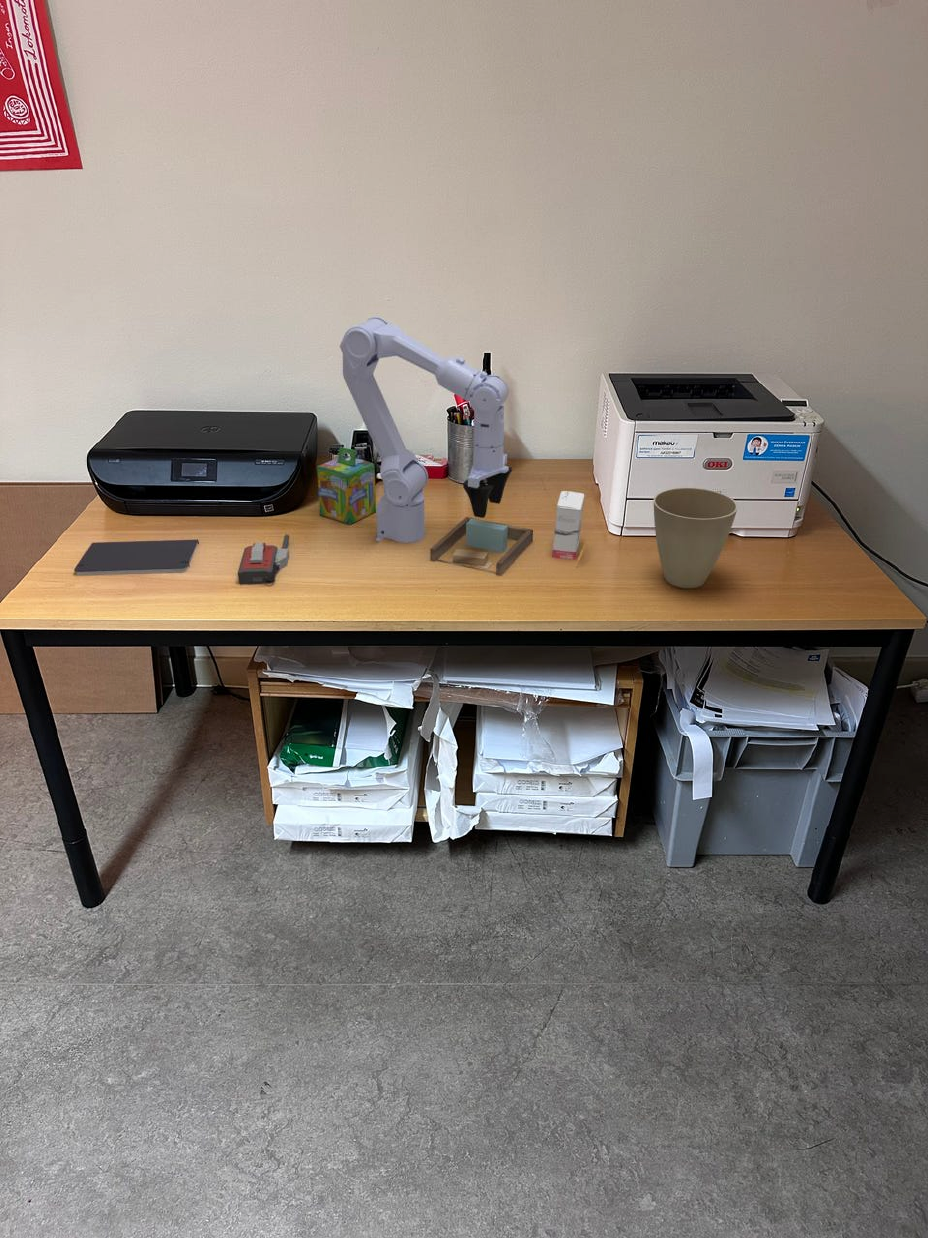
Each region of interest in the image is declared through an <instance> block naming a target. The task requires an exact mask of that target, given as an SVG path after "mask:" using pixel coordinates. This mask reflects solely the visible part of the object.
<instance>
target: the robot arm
mask: <svg viewBox="0 0 928 1238" xmlns="http://www.w3.org/2000/svg"><path fill="white" fill-rule="evenodd" d="M339 349H340V350H341V352H342V376H343V379H344V382H345V384H346V387H348V390H349V393H350V395H351V397H352V399H353V401H354V403H355V405H356V407H357V410H358V413H359V414H360V416H361V419H362V421H363V423H364V425H365V427H366V429H367V432H368V434H369V436H370V439H371V441H372V443H373V444H374V447H375V450H376V451H377V454H378V456H379V458H380V460H381V464H380V472H379V473H380V474H379V475H380V477H381V479H382V482H383V483H382V484H383V485H382V486H383V487H382V488H383V494H384V495H383V496H381V497H380V499H379V500H378V503H377V505H376V524H377V525H376V526H377V527H376V529H377V530H376V531H377V537H376V539H375V541H376V542H379V543H380V542H381V541H382V540H383V539H389V540H392V541H395V542H397V543H402V544H406V543H407V544H411V543H416V542H420V541H422V540H423V539H424V538H425V537H426V532H425V531H426V528H425V527H426V526H425V525H426V521H425V516H426V515H425V494H424V488H425V487H426V486H427V484H428V481H429V473H428V470H427V469H426V467H425V466H424V465H423V464H421V463H420V461H419V460H418V458H417V457H416V455H415V452H413V451H410V450H409V449H407V448H406V446H405V443H404V440H403V438H402V437H401V436H402V435H401V434H400V431H399V429H398V427H397V425H396V423H395V420H394V418H393V416H392V414H391V412H390V410H389V407H388V405H387V402H386V400H385V398H384V396H383V393H382V392H381V389H380V386H379V385H378V382H377V380H376V378H375V375H374V372H375V371H376V368H377V365H378V363H379V361H380V359H384V358H391V357H399V358H400V359H402V360H405V361H406V362H409V363H410V364H412V365H415V366H416V367H418V368H420V369H423V370H424V371H426V372H428V373H431V374H432V375H434V377H435V379H436V382H437V385H438V386H439V387H442V388H444V389H446V390H447V391H449V392H450V393H452V394H454V395H456V396H457V397H459V398H461V399H462V400H465V401H466V402H469V405H470V407H471V409H472V410H473V411H474V412H473V413H474V414H473V418H474V419H473V454H472V455H473V457H472V458H473V459H472V461H473V463H472V465H471V470H470V473H469V476H467V479H466V480H465V481H464V482H462V488H463V490H464V491H465V492H466V495H467V496H468V499H469V503H470V505H471V509H472V513H473V516H474V517H475V518H479V519H481V518H482V519H484V518H485V517H486V515H487V511H488V504H489V503H493V504H501V501H502V498H503V495H504V490H505V487H506V484H507V481H508V479H509V477H510V475H511V473H512V471H513V468H512V467H511V466H507V463H508V453H504V445H505V444H504V441H505V440H504V439H505V406H504V404H505V402H507V399H508V396H509V387H508V385H507V383H506V382H505V380H503V378H501V376H499V375H497V374H488V373H487V372H486V371H485V370H482V371H479V370H478V369H476V368H474V367H472V366H471V365H470V364H467V363H466V359H465V358H464V357H462V356H458V357H455V356H449V357H446V358H444V357H442V356H441V355H440V354H439V355H438V354H437V353H436V352H434V351H433V350H431V349H430V348H429V347H427V346H425V345H423V343H421V342H419V341H417V340H416V339H415V338H413V337H412V336H410V335H408V334H407V333H405V332H404V331H403V330H401V329H400V328H399V327H398V326H397V325H396V324H394V323H392V322H388V321H387V320H385V319H384V318H382V317H379V316H373V317H370V318H368V319H366V321H363V322H361V323H360V324H358V325H355V326H351V327H350V328H348V329H347V331H346V332H345V333H344V335H343V338H342V340H341V342H340V344H339ZM485 480H486V482H485ZM488 501H489V503H488Z"/></svg>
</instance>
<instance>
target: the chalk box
mask: <svg viewBox="0 0 928 1238" xmlns="http://www.w3.org/2000/svg"><path fill="white" fill-rule="evenodd" d="M345 454H347V455H345ZM375 466H376V465H375V463H373V462H370V461H368V460H365V459H361V458H357V450H356V449H351V448H348V447H345V446H344V447H343V446H339V449H338V455H337V458H334V459H332V460H330V461H327V462H324V463H322V464H320V465H317V466H316V471H317V484H318V485H317V487H318V504H319V505H318V506H319V515H320V516H322V517H323V516H324V517H326V518H329V519H332V520H335V521H338V522H341V523H343V524H347V525H349V526H351V525H352V524H355V523H356V522H358V521H360V520H362V519H365V518H366V517H368V516H370V515H372V514H374V513H377V503H376V501H377V500H376V499H377V498H376V472H375V471H376V467H375Z"/></svg>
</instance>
